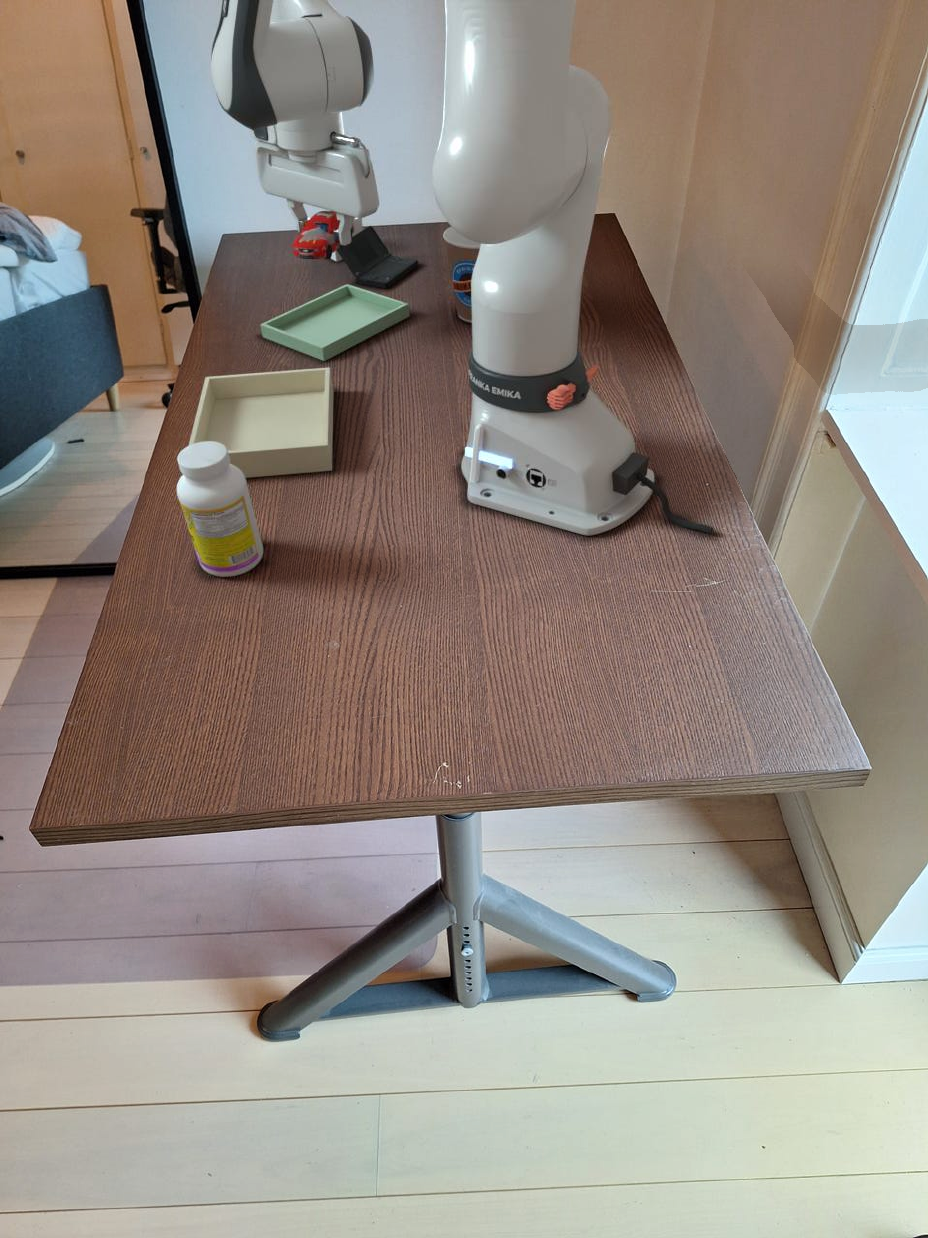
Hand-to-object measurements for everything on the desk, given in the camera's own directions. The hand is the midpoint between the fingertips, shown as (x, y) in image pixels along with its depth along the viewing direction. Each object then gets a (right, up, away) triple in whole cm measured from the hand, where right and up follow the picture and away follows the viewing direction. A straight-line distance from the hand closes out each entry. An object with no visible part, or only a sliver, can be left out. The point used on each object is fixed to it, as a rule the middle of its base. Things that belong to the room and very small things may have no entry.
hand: (324, 237), depth 120 cm
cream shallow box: (-5, -30, -13) cm, 33 cm away
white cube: (-2, +11, +31) cm, 33 cm away
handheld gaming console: (+5, +5, +24) cm, 25 cm away
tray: (0, -9, +9) cm, 13 cm away
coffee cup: (+22, -7, +11) cm, 26 cm away
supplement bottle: (-4, -48, -31) cm, 57 cm away
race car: (0, -1, +1) cm, 1 cm away
